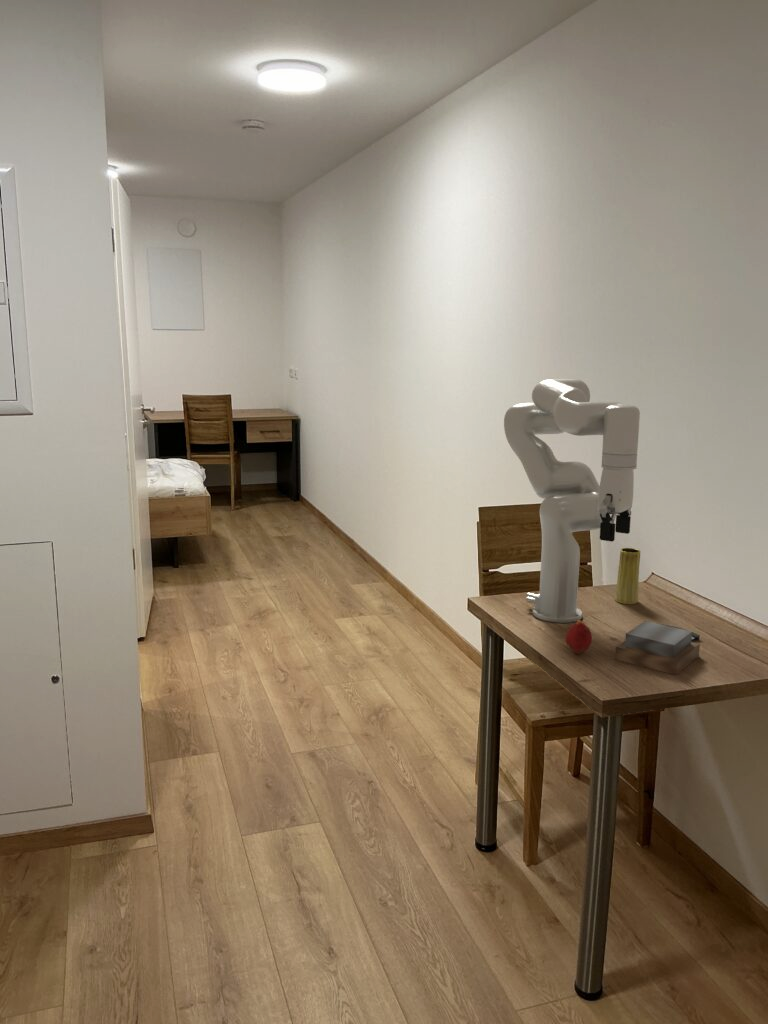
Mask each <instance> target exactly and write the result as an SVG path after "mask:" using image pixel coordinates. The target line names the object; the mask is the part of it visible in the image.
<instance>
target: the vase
mask: <svg viewBox="0 0 768 1024" xmlns="http://www.w3.org/2000/svg"><path fill="white" fill-rule="evenodd" d="M640 561H641V550H640V549H637V548H634V547H633V548H632V547H622V548H620V554H619V562H618V563H619V564H618V571H617V581H616V591H615V597H614V600H615V602H617V603H619V604H623V605H636V604H637V603H639V581H640V580H639V579H640V576H639V575H640Z"/></svg>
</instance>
